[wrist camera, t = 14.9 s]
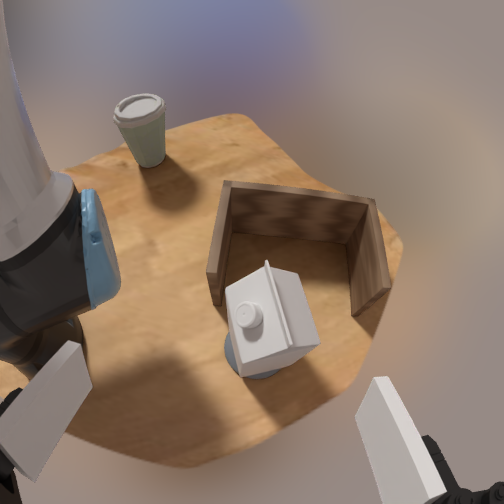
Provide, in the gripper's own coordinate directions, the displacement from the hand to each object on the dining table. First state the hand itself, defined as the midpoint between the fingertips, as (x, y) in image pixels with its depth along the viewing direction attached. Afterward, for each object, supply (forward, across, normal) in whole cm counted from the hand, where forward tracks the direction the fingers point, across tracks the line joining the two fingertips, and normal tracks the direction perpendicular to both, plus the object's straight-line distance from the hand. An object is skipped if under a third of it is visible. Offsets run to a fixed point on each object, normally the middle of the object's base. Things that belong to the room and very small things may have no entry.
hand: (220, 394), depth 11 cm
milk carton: (+24, +4, -14) cm, 28 cm away
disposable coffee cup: (+51, -23, +10) cm, 57 cm away
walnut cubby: (+33, +8, -5) cm, 35 cm away
